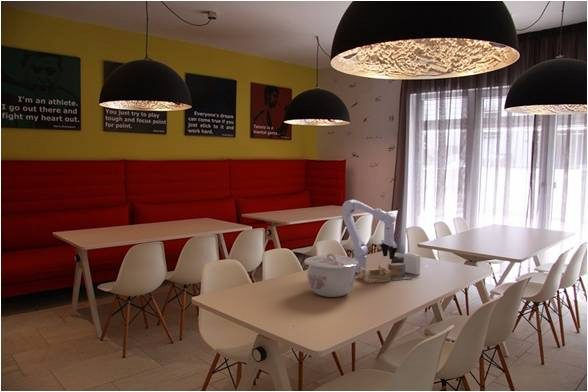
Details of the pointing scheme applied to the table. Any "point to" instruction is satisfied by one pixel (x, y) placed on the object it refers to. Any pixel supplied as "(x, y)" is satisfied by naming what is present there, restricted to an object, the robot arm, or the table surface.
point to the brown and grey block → (397, 269)
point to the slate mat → (400, 278)
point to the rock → (398, 258)
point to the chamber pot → (331, 274)
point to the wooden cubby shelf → (375, 275)
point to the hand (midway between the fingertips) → (388, 257)
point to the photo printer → (412, 263)
